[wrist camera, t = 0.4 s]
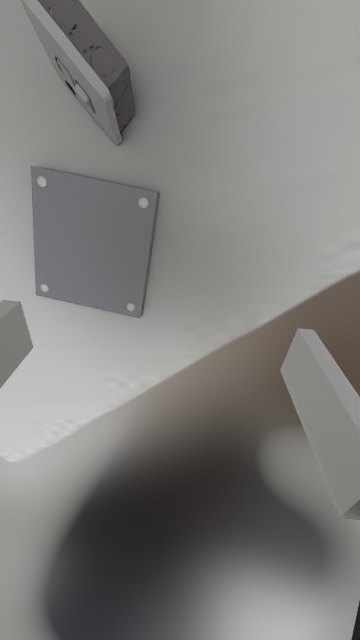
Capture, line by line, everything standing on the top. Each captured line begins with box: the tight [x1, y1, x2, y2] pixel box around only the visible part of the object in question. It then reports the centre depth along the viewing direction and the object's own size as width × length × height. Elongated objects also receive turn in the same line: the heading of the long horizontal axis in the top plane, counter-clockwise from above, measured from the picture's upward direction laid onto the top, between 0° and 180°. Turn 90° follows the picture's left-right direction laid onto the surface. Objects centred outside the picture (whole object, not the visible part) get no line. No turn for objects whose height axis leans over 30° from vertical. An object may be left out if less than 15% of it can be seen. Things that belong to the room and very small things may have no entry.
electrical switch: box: [21, 0, 135, 145], centre depth 25 cm, size 9×5×9 cm, turn 42°
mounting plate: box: [31, 166, 160, 318], centre depth 35 cm, size 17×16×2 cm
